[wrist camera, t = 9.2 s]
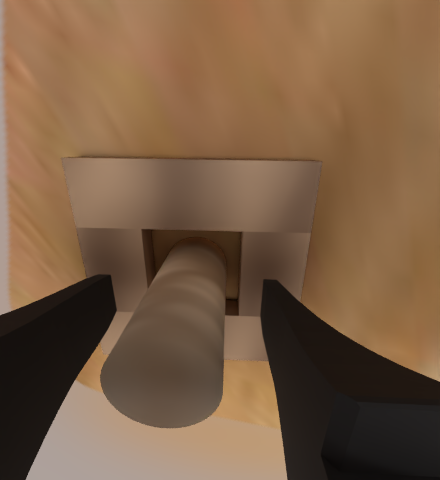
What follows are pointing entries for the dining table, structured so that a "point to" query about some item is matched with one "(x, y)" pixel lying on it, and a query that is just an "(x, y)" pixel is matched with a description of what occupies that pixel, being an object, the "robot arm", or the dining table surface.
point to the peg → (173, 342)
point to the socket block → (194, 227)
